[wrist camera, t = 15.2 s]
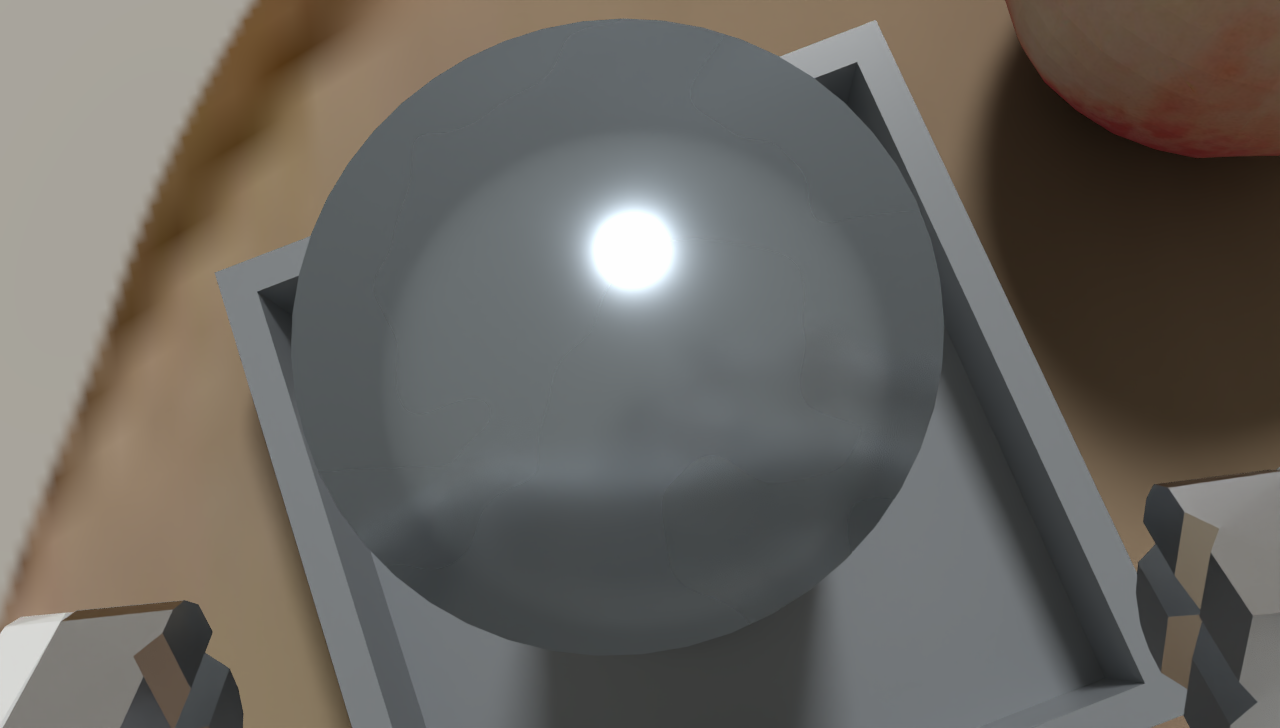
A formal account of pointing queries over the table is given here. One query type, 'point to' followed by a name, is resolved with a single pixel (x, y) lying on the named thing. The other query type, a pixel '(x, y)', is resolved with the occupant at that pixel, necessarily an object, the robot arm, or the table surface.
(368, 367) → the canister
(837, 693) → the tray
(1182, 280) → the table surface
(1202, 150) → the fruit
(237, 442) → the table surface
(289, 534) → the table surface
